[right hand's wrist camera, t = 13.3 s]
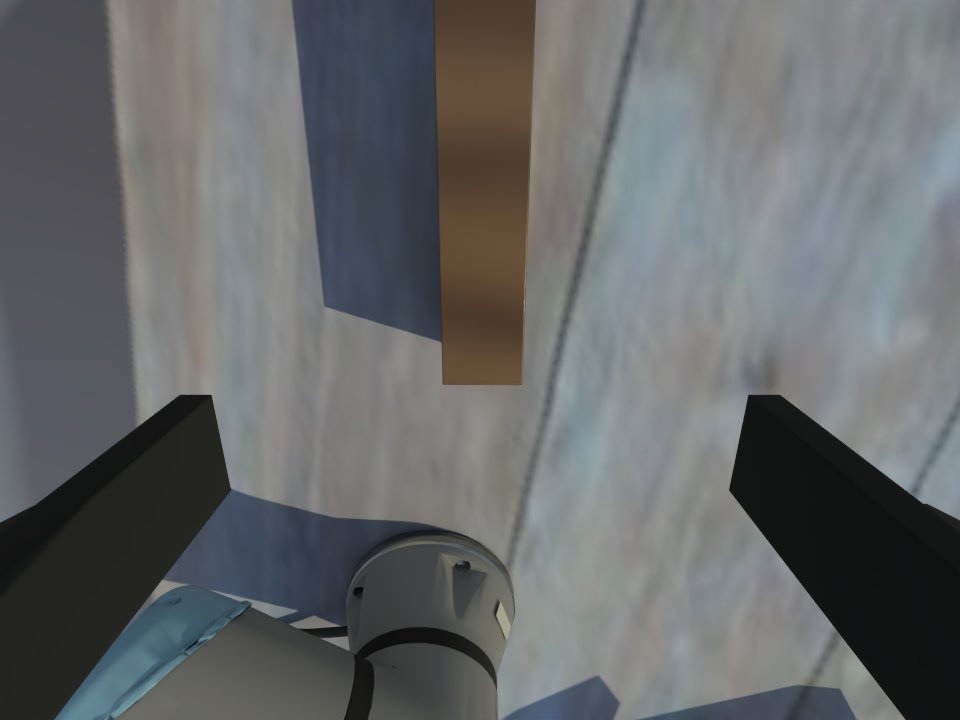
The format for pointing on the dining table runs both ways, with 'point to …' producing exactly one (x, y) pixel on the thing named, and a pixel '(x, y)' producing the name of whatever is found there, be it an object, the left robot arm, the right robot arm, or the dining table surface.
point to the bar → (483, 184)
